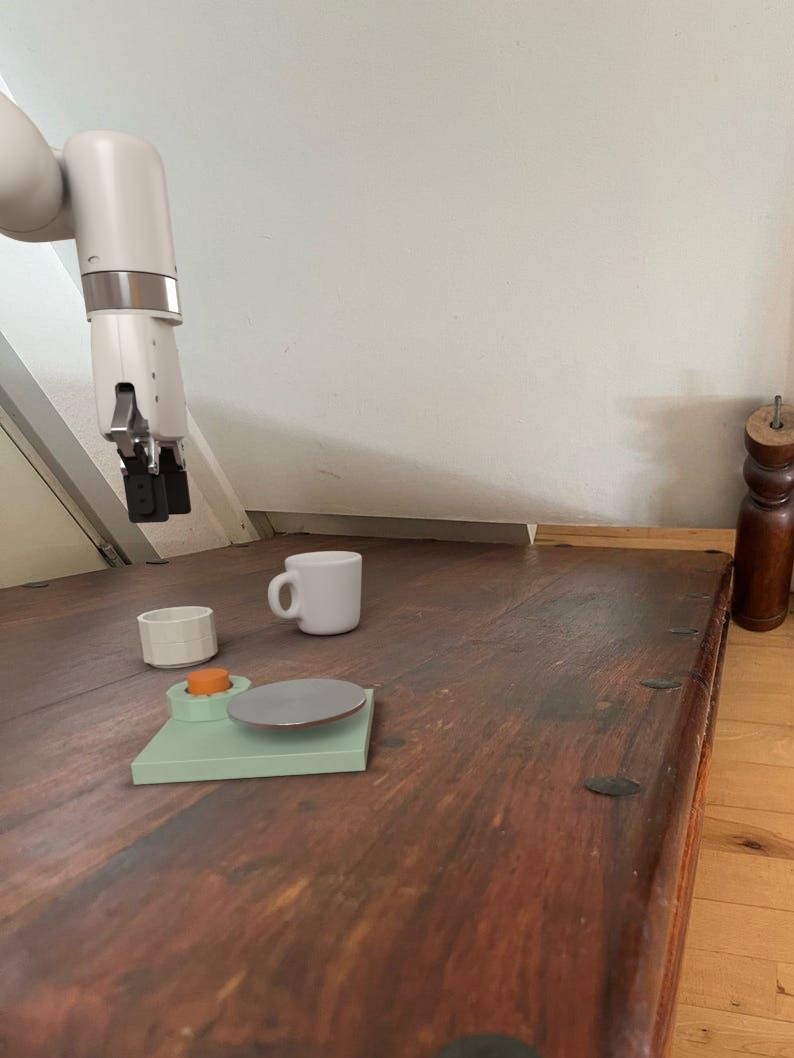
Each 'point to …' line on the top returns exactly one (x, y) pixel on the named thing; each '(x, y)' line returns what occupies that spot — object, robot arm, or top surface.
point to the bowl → (177, 636)
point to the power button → (208, 681)
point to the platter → (296, 704)
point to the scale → (246, 742)
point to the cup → (320, 591)
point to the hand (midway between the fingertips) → (162, 516)
